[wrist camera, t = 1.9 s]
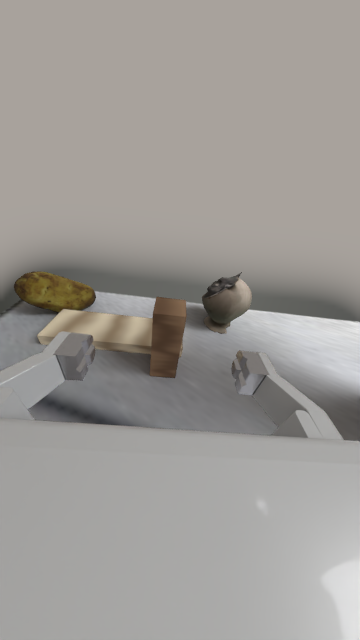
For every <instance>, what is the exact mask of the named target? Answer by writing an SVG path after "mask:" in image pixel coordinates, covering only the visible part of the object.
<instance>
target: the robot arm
mask: <svg viewBox="0 0 360 640" xmlns="http://www.w3.org/2000/svg"><path fill="white" fill-rule="evenodd" d="M93 341H94V340H93V336H92V335H88V334H80V333H73V332H72V333H71V332H64V331H62V332H59V333H58V334H57V335H56V337H55V338H54V339H53V340H52V341H51V342H50V343H49V345H48V346H47V347H46V348H45V349H44V350H43V351H42V353H41V354H38V353H37V354H35V355H33V356H31V357H29V358H27V359H25V360H22V361H20V362H18V363H16V364H14V365H12V366H10V367H8V368H6V369H4V370H2V371H0V640H360V441H349V440H344V439H343V438H342V436H341V435H340V433H339V432H338V430H337V429H336V427H335V426H334V424H333V423H332V421H331V420H330V418H329V417H328V415H327V414H326V412H325V411H324V410H322V409H321V408H320V407H319V406H317V405H316V404H315V403H314V402H312V401H311V400H310V399H309V398H307V397H306V396H305V395H304V394H302V393H301V392H300V391H299V390H297V389H296V388H295V387H294V386H292V385H291V384H290V383H289V382H287V381H286V380H285V379H284V378H282V377H280V376H278V374H277V372H276V370H275V368H274V367H273V365H272V363H271V361H270V359H269V357H268V356H267V354H266V353H260V352H249V351H238V352H237V354H236V356H237V359H235V360H234V361H233V363H232V368H231V370H232V375H233V377H234V378H235V379H236V382H235V386H236V389H237V392H238V394H244V395H253V398H254V399H255V400H256V401H257V402H258V404H259V405H260V406H261V407H262V408H263V410H264V411H265V412H266V413H267V414H268V416H269V417H270V418H271V419H272V420H273V422H274V423H275V424H276V425H277V426H278V428H277V429H276V430H275V431H274V432H273V434H272V436H271V435H256V434H240V433H225V432H210V431H195V430H179V429H164V428H148V427H133V426H117V425H102V424H86V423H71V422H55V421H40V420H34V419H33V416H32V415H31V413H30V412H29V411H28V409H29V408H30V407H32V406H33V405H34V404H36V403H37V402H38V401H40V400H41V399H42V398H43V397H45V396H46V395H47V394H49V393H50V392H51V391H52V390H54V389H55V388H56V387H58V386H59V385H60V384H61V383H63V382H64V381H65V380H80V381H83V379H84V377H85V375H86V373H87V371H88V367H87V366H88V365H90V364H91V363H92V362H93V360H94V356H95V346H94V345H93V344H92V342H93Z"/></svg>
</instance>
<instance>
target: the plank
mask: <svg viewBox="0 0 360 640" xmlns="http://www.w3.org/2000/svg"><path fill="white" fill-rule="evenodd" d="M152 323H153V319H152V318H143V317H133V316H124V315H115V314H105V313H96V312H87V311H77V310H68V309H63V310H62V311H61V312H60V313H59V314H58V315H57V316H56V317H55V318H54V319H53V320H52V321H51V322H50V323H49V324H48V325H47V326H46V327H45V328H44V329H43V330H42V331H41V332H40V333H39V334H38V335H37V337H38V339H39V341H40V343H41V344H44V345H49V343H50V342H51V341H52V340H53V339H54V338H55V337H56V335H57V334H58V333H59V332H62V331H64V332H71V333H72V332H73V333H80V334H88V335H92V336H93V340H94V341H93V342H92V344H93V345H94V346H95V349H99V350H110V351H121V352H132V353H143V354H151V342H152ZM182 349H183V347H182V343H181V349H180V354H179V357H181V354H182Z"/></svg>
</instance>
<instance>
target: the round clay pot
mask: <svg viewBox="0 0 360 640" xmlns="http://www.w3.org/2000/svg"><path fill="white" fill-rule="evenodd" d="M240 274H241V273H240ZM240 274H238V275H236V276H234V277H231V278H223V277H222V278H220V279H219V280H218V281H215V282H214V283H213V284H212V285H211V286H209V287H208V289H207V290H208V292H207V293H206V294H205V295H203V297H202V301H203V305H204V308H205V310H206V312H207V313H208V315H209V316H208V317H206V318H205V319H204V324H205V325H206V326H207V327H208V328H209V329H210V330H212V331H214V332H218V333H220V334H222V333H226V328H227V327H228V326H230V322H231V321H232V320H234V319H236V318H237V317H239V316H241V315H242V314H244V313H245V312H246V311H247V310H248V309H249V307H250V304H251V298H252V296H251V291H250V289H249V287H248V286H247V284H246V283H245V282H243V281H242V280H241V279H239V276H240Z"/></svg>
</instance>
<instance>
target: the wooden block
mask: <svg viewBox="0 0 360 640" xmlns="http://www.w3.org/2000/svg"><path fill="white" fill-rule="evenodd" d="M185 322H186V301H185V300H178V299H170V298H162V297H157V298H156V302H155V307H154V311H153V323H152V342H151V361H150V376H157V377H170V378H175V375H176V370H177V364H178V359H179V354H180V349H181V343H182V338H183V333H184V328H185Z"/></svg>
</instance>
